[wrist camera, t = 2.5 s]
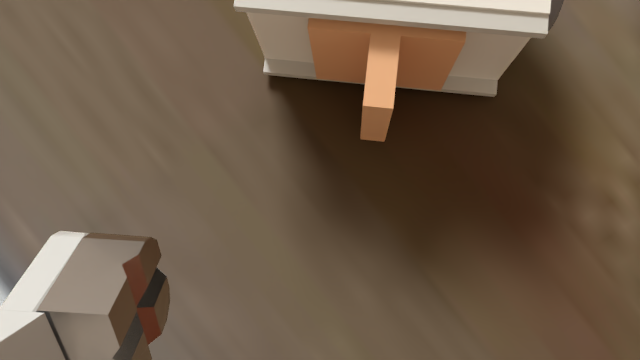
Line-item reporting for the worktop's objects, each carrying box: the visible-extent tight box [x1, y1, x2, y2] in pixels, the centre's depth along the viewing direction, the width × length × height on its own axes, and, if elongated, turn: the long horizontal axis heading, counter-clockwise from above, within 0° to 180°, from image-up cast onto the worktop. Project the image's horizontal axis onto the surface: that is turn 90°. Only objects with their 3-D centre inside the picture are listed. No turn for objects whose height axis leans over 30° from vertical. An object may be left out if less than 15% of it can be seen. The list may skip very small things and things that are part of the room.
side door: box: [307, 18, 466, 142], centre depth 35 cm, size 8×5×8 cm, turn 83°
